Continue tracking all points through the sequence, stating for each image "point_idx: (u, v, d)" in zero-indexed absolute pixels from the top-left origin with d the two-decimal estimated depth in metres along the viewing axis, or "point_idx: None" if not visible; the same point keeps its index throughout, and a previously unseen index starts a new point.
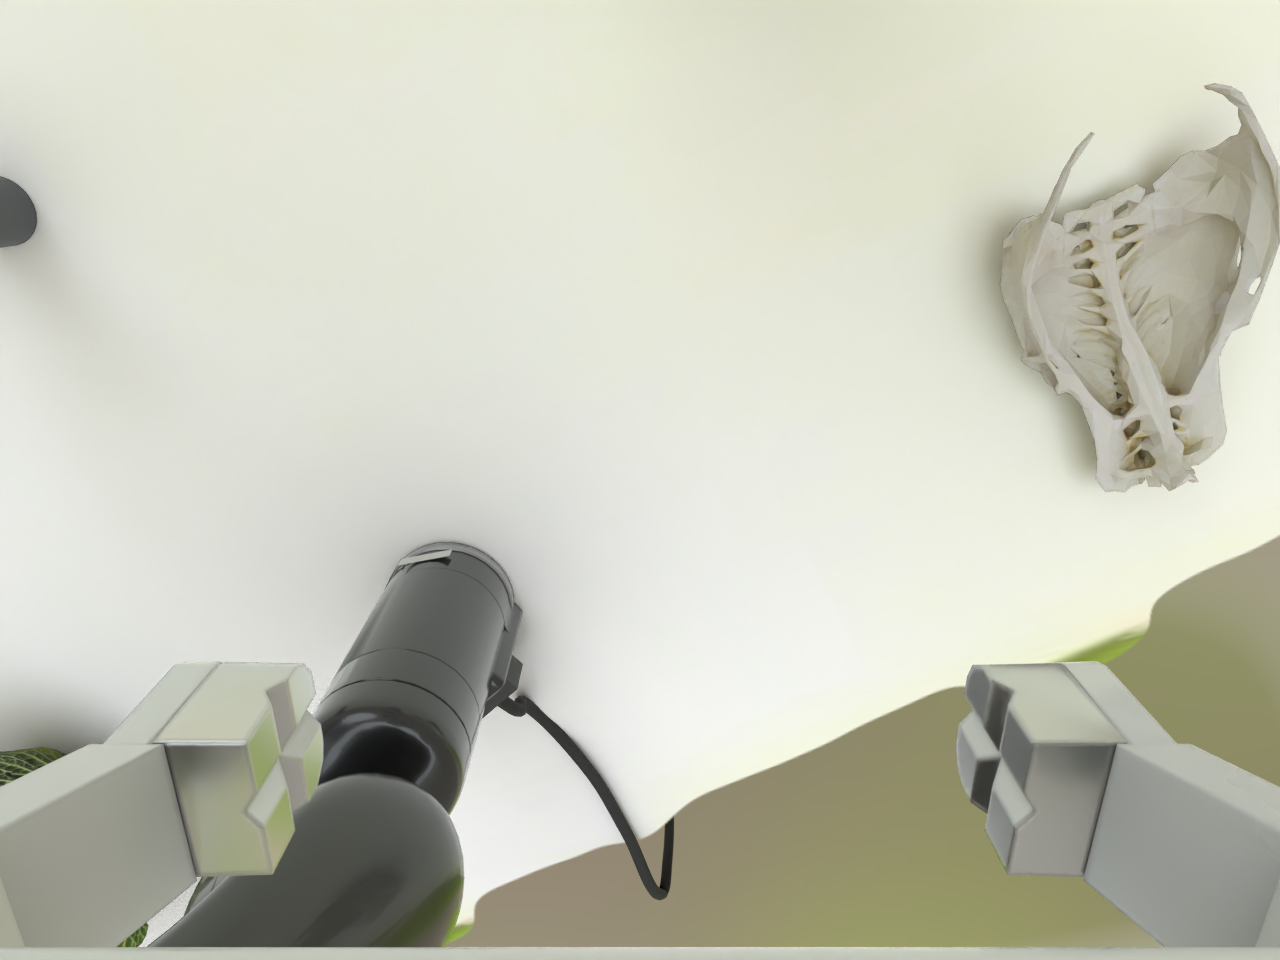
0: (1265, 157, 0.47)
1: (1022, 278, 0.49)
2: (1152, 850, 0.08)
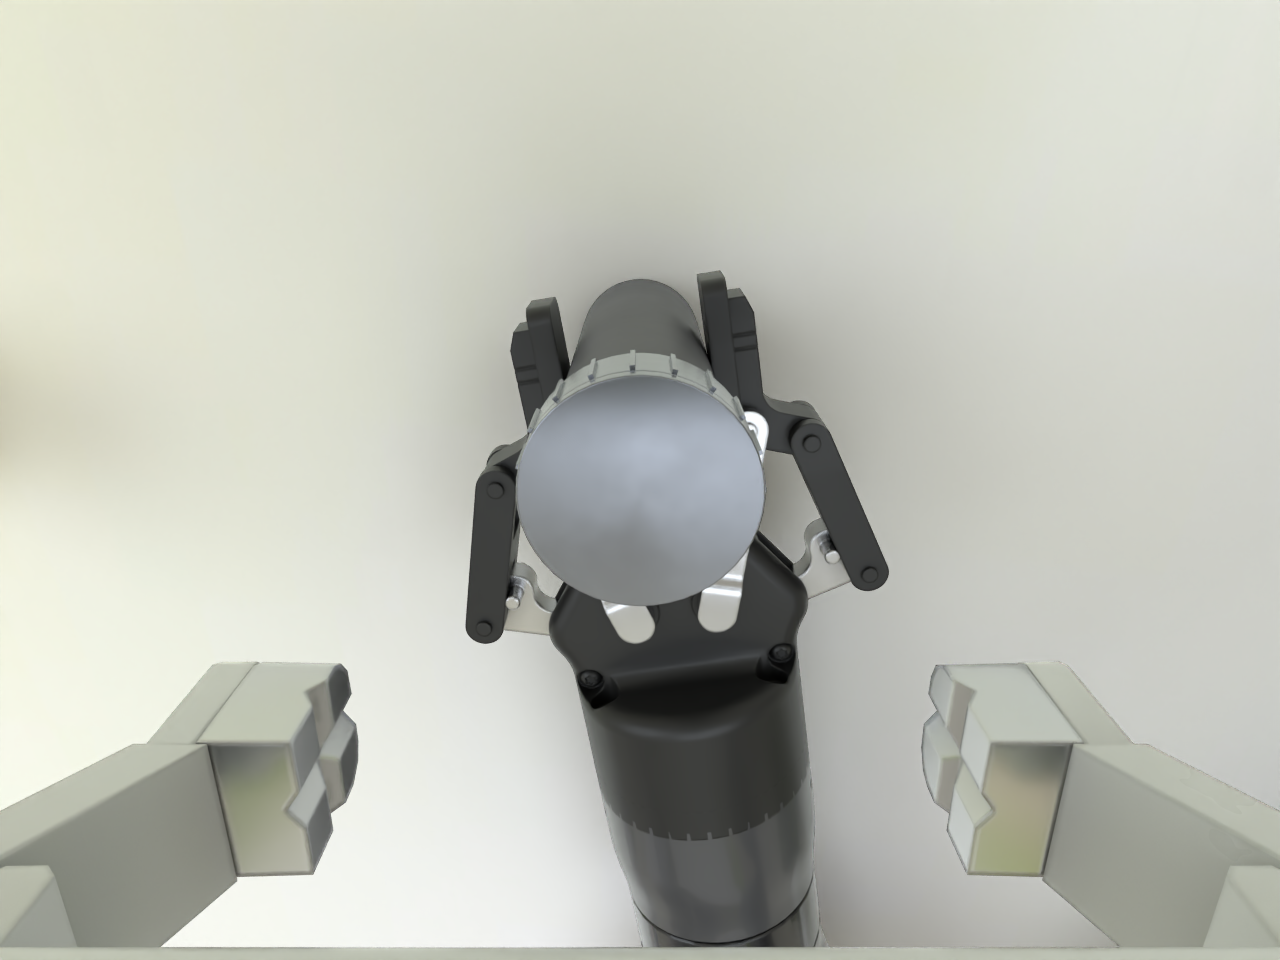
0: None
1: None
2: (1107, 850, 0.08)
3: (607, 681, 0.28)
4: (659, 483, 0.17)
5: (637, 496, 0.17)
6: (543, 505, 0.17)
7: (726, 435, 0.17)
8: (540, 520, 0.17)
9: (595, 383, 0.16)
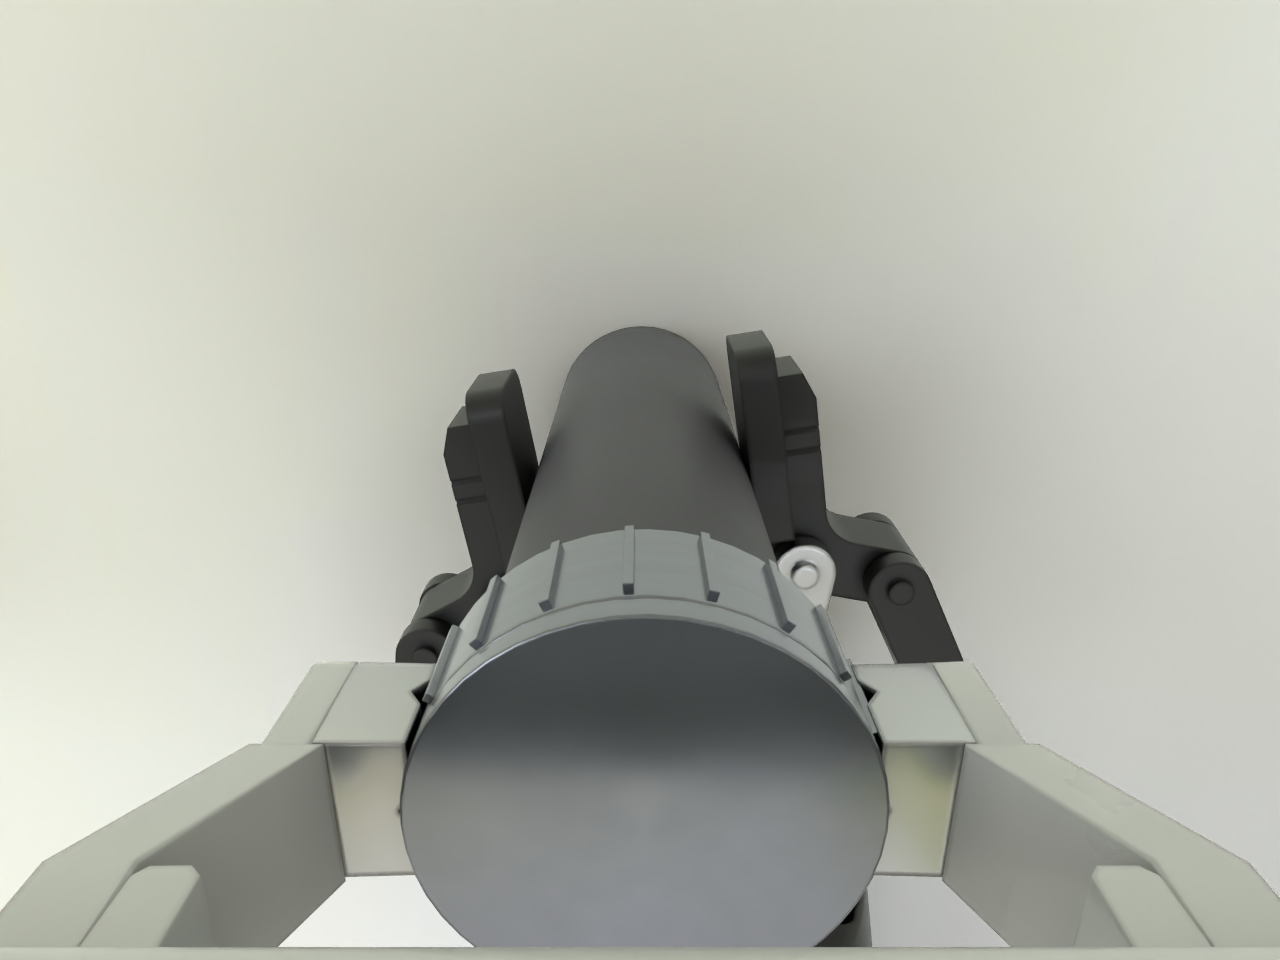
0: None
1: None
2: (998, 850, 0.08)
3: None
4: (682, 806, 0.09)
5: (638, 828, 0.09)
6: (455, 843, 0.09)
7: (817, 723, 0.08)
8: (450, 867, 0.09)
9: (552, 629, 0.08)
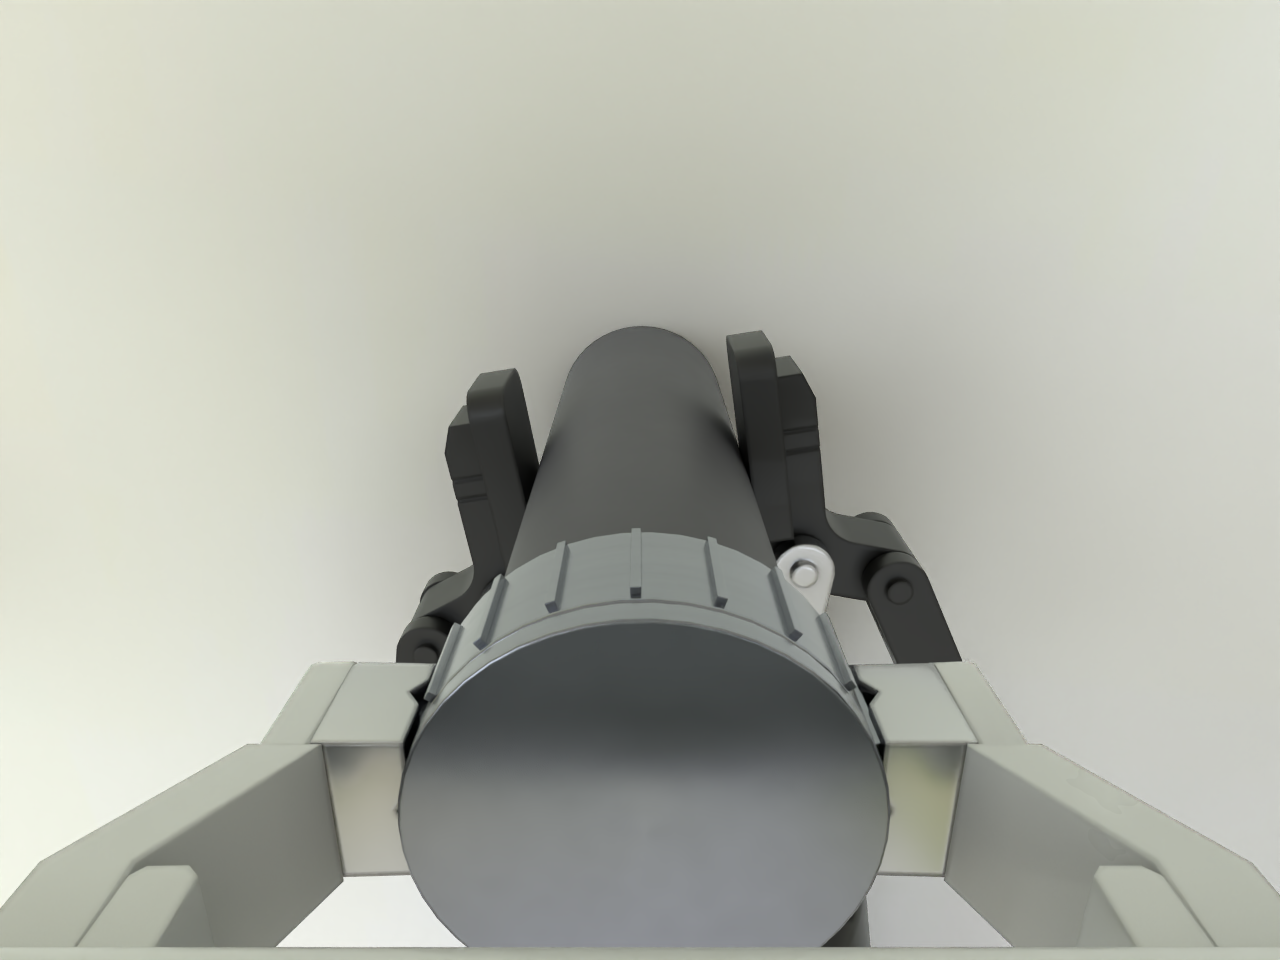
0: None
1: None
2: (1000, 850, 0.08)
3: None
4: (625, 799, 0.09)
5: (640, 838, 0.09)
6: None
7: (559, 670, 0.08)
8: None
9: (402, 845, 0.09)
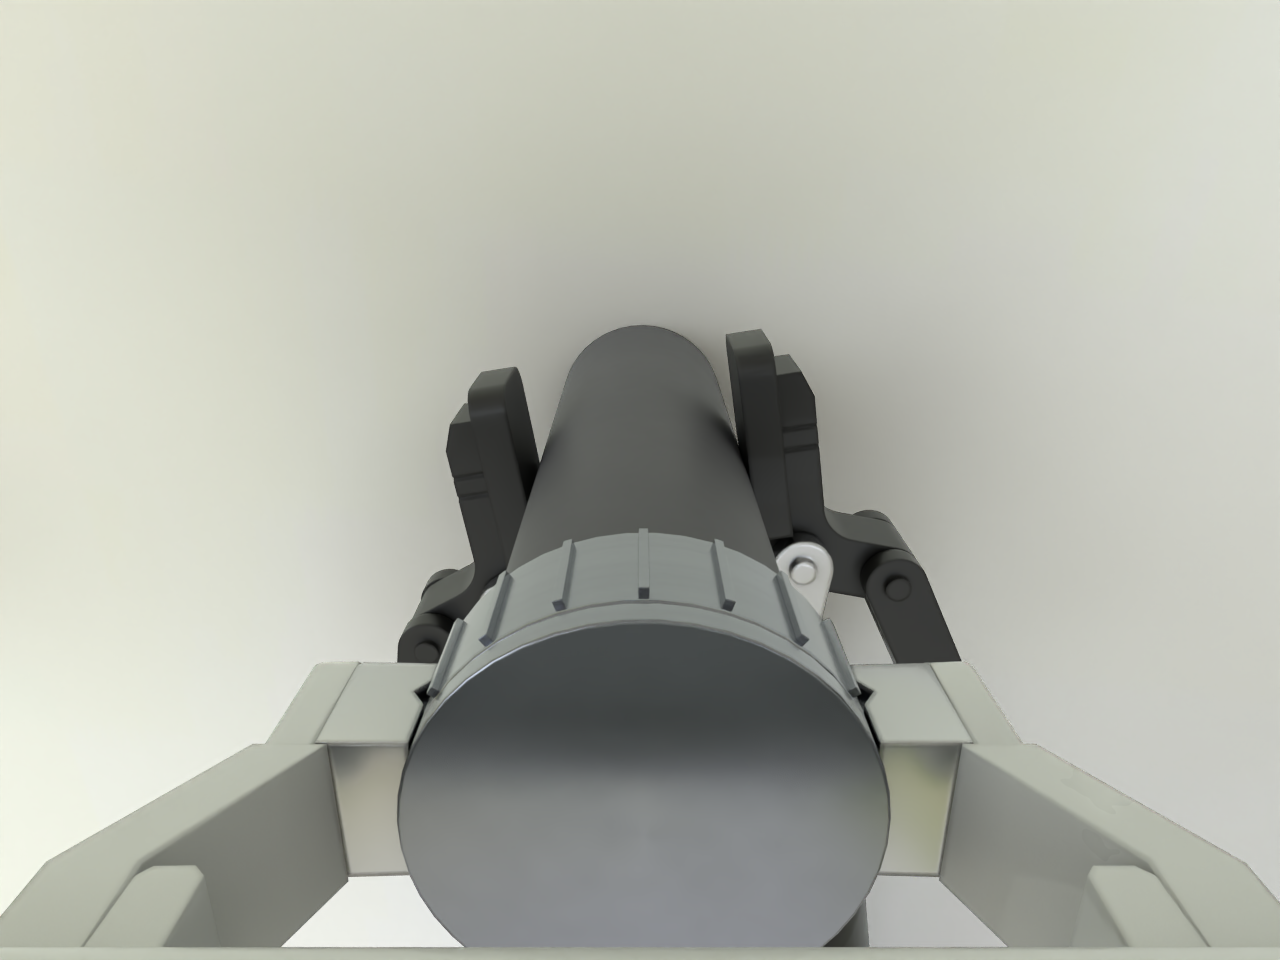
0: None
1: None
2: (994, 850, 0.08)
3: None
4: (596, 839, 0.09)
5: (647, 839, 0.09)
6: (809, 901, 0.09)
7: (437, 852, 0.09)
8: (834, 883, 0.09)
9: None
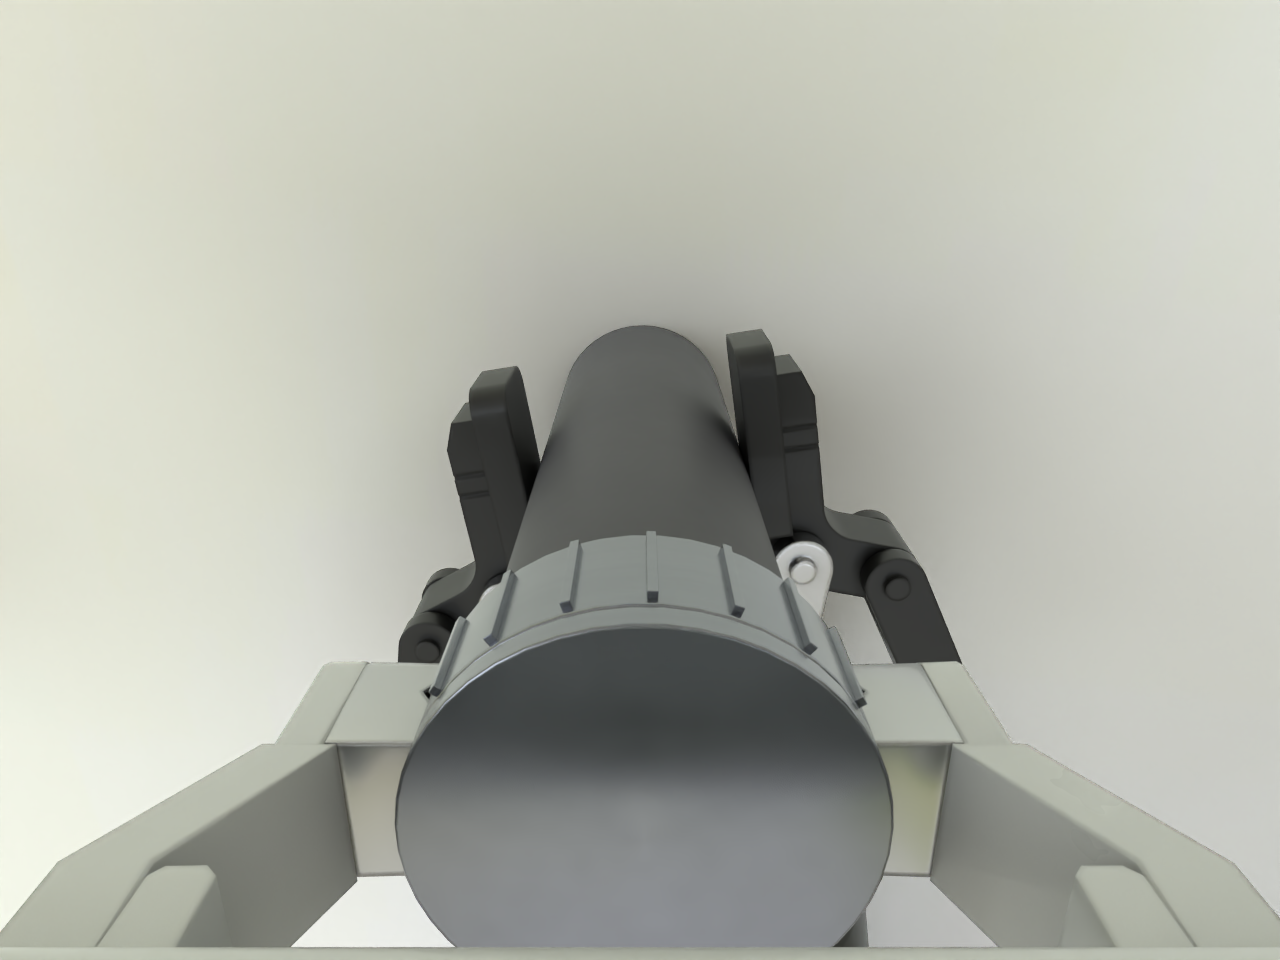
0: None
1: None
2: (985, 850, 0.08)
3: None
4: (636, 877, 0.09)
5: (650, 839, 0.09)
6: (785, 723, 0.08)
7: None
8: (770, 696, 0.08)
9: (851, 924, 0.09)
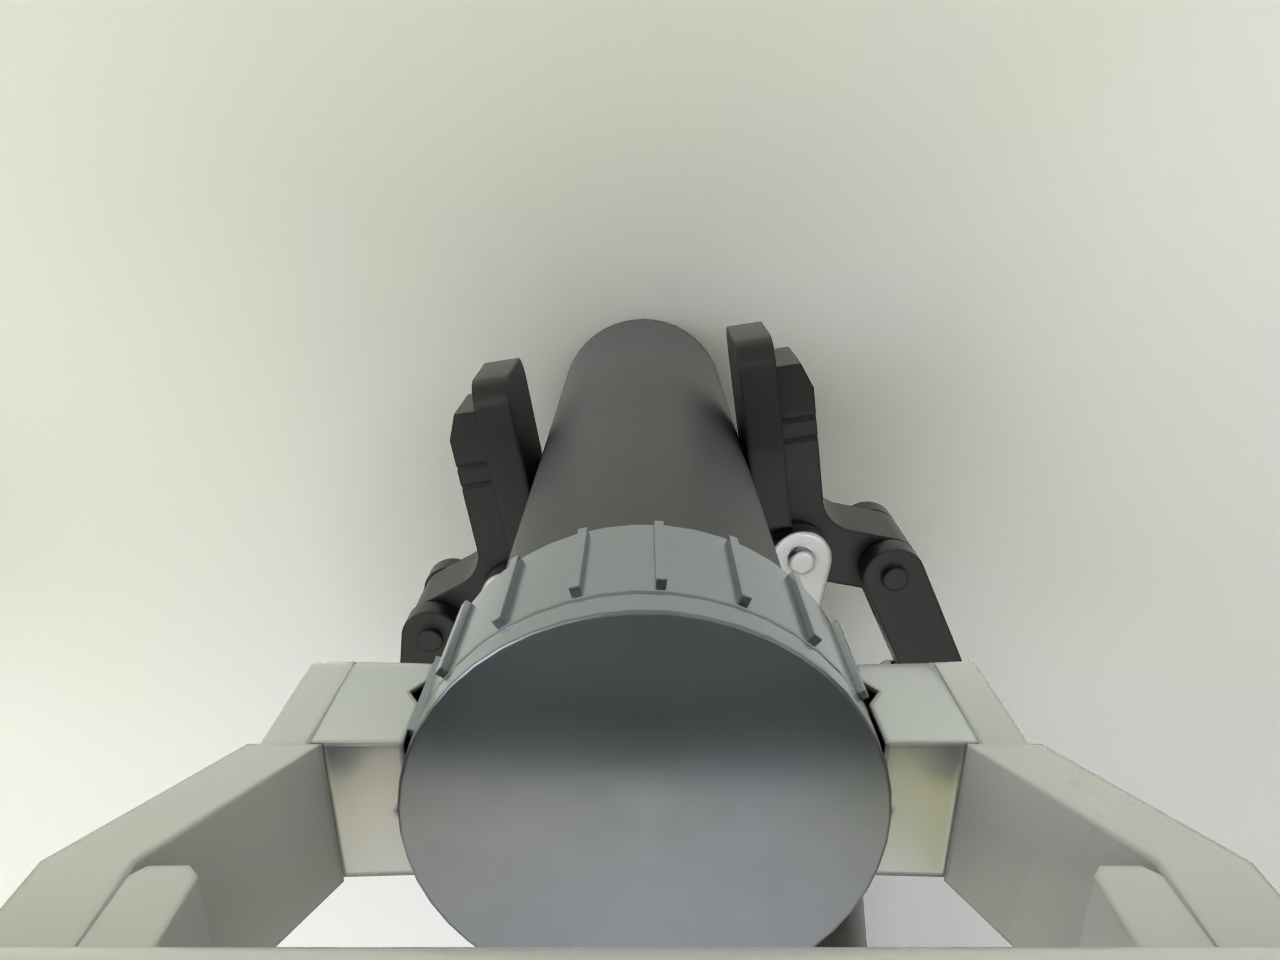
0: None
1: None
2: (1000, 850, 0.08)
3: None
4: (686, 843, 0.09)
5: (643, 822, 0.09)
6: (537, 687, 0.08)
7: (825, 896, 0.09)
8: (502, 694, 0.08)
9: (827, 675, 0.08)
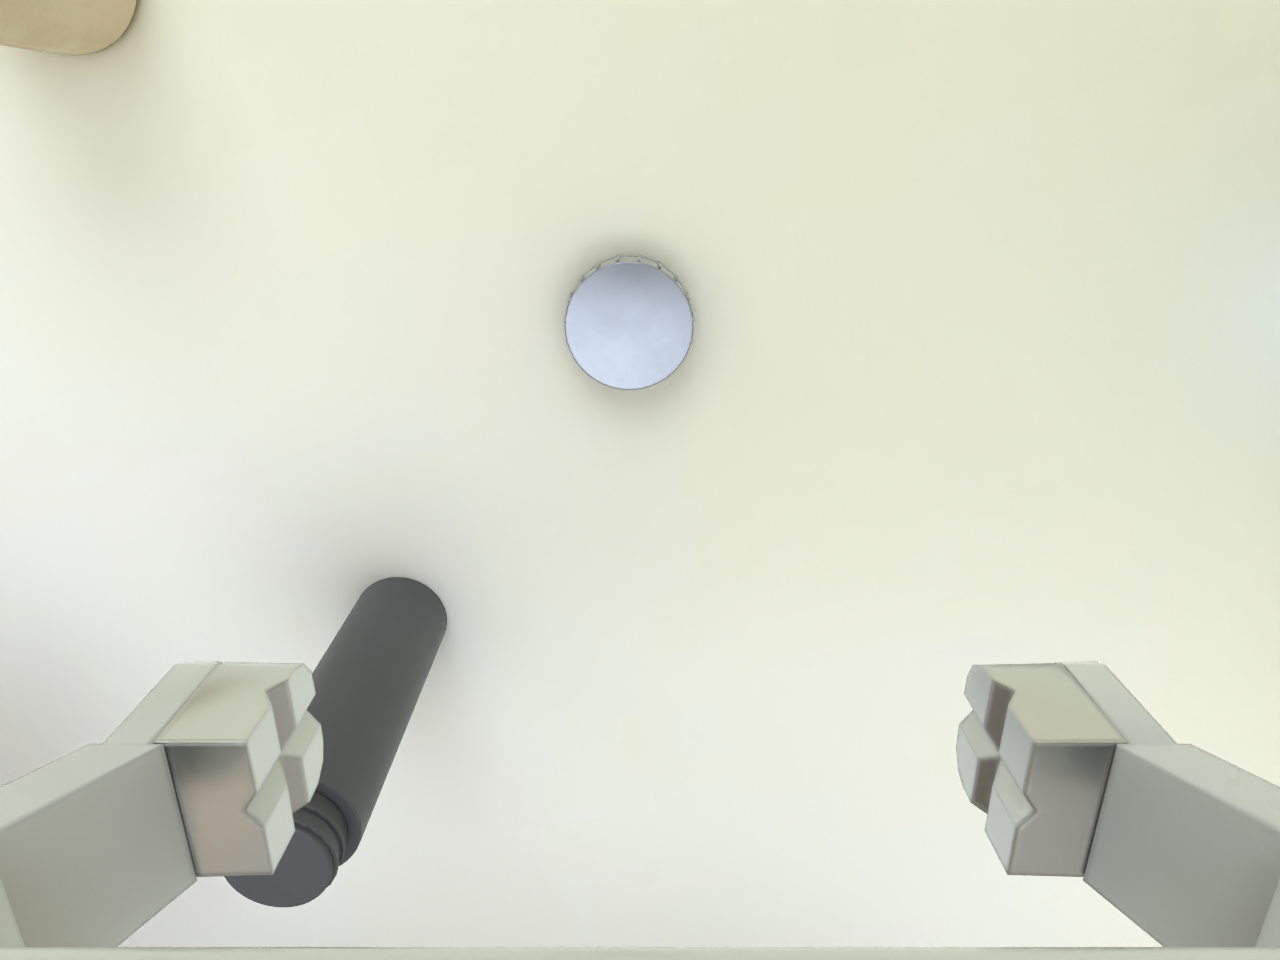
0: None
1: None
2: (1152, 850, 0.08)
3: None
4: (637, 319, 0.33)
5: (627, 327, 0.33)
6: (579, 337, 0.33)
7: (668, 289, 0.33)
8: (579, 346, 0.34)
9: (599, 269, 0.33)
